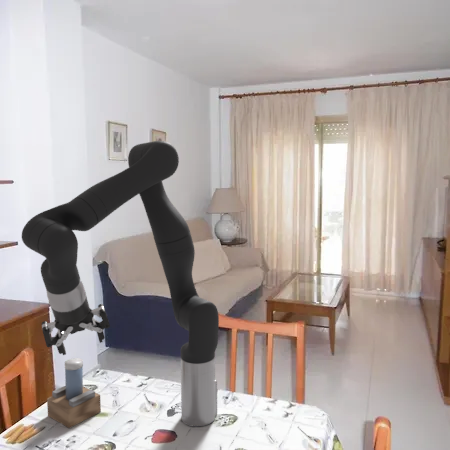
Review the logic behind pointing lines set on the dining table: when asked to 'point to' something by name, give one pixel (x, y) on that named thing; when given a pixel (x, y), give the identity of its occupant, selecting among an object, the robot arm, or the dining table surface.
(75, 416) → the display plinth
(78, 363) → the ball-topped blue cylinder
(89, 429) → the dining table surface
